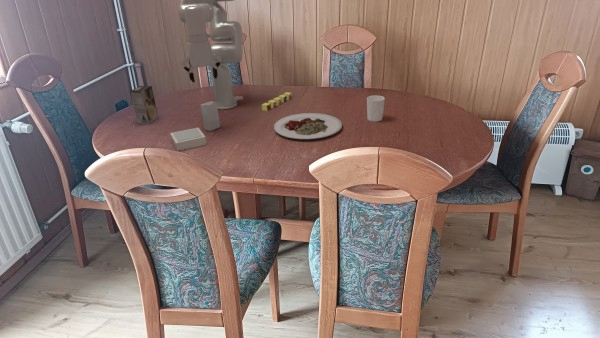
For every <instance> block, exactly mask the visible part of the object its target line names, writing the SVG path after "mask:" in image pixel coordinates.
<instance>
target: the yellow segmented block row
mask: <svg viewBox="0 0 600 338" xmlns="http://www.w3.org/2000/svg"><path fill="white" fill-rule="evenodd" d="M292 99H293V92H287V91H286V92H284V93H283V94H281V95H278V97H277V96H276V97H274V98H273V99H270V100H268V101H267V102H264V103H262V104H261V110H262V111H264V112H268V111H270V110H272V109H274V108H276V107H277V106H280V105H282V104H283V103H285V102H288V100H292Z"/></svg>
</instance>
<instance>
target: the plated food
mask: <svg viewBox="0 0 600 338" xmlns="http://www.w3.org/2000/svg"><path fill="white" fill-rule="evenodd" d="M342 123H343V122H342V121H341V120H340V119H339V118H338V117H335V116H333V115H330V114H325V113H318V112H306V113H305V112H302V113H296V114H291V115H287V116H285V117H283V118H280V119H278V120H277V121H276V122H275V123H274V125H273V130H274V131H275V132H276V133H277V135H280V136H282V137H285V138H289V139H296V140H315V139H323V138H325V137H326V138H327V137H329V136H332V135H334V134H337V133H338V132H339V131H340V130H341V129H342V127H343V124H342Z"/></svg>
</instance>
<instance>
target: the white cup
mask: <svg viewBox="0 0 600 338" xmlns="http://www.w3.org/2000/svg"><path fill="white" fill-rule="evenodd" d="M384 109H385V97H384V96H382V95H369V96H367V97H366V113H367V116H366V117H367V121H369V122H375V123H376V122H381V121H382V120H383V116H384Z"/></svg>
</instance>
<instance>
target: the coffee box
mask: <svg viewBox="0 0 600 338" xmlns="http://www.w3.org/2000/svg"><path fill="white" fill-rule="evenodd" d="M129 94H130V98H131V102H132V105H133V110H134V113H135V117H136V121H137V124H138V125H149V124H151V123H153V122H154V121H155V120H157V119H158V118H159V114H158V113H159V112H158V108H157V103H156V100H155V96H154V91H153V87H152V85H139V86H137V87H135V88H134V89H132V90H130V91H129Z"/></svg>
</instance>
